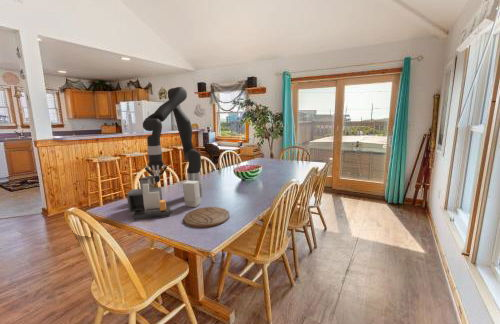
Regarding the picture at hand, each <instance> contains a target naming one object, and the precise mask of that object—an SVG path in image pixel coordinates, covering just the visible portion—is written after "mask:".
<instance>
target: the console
mask: <svg viewBox="0 0 500 324" xmlns="http://www.w3.org/2000/svg"><path fill="white" fill-rule="evenodd" d="M170 215H171V206H166V210H163V211H160V208H152V209H143V210H136V212H135V213H134V215H132V216H133V221H141V220H149V219H151V220H152V219H160V218H169V217H170Z"/></svg>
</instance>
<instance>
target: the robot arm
mask: <svg viewBox="0 0 500 324" xmlns="http://www.w3.org/2000/svg"><path fill="white" fill-rule="evenodd" d="M187 94H188V92H187V90H186V89H185V88H184V87H182V86H177V87H171V88H169V89H168V91H167V99H168V100H167V101H166V102H164V103H163V104H161V105H160V106H158V108H157V109H156V110H155V111H154V112H153V113H151V114H150V115H148V116H147V117H146V118H145V119H144V120H143V122H142V128H143V130H145V131H147V132H152V133H151V135H150V134H149V135H148V136H147V137H146V141H147V142H146V143H147V157H148V158H147V160H148V164H147V166H145V167H144V170H145V171H146V172H147V173H148V174H149V176H154V178H155V182H156V183H160V181H161V176H163V174H164V173H165V171H167V169H168V166H167V165H166V164H165V163H164V162H163V152H162V145H161V136H162V131H163V130H162V129H163V122H164V121H165V120H166V119H167V118H168V116H169V115H170V114H171V113H173V116H174V119H175V123H176V128H177V131H178V134H179V137H180V142H181V145H182V152H183V157H184V160H185V161H186V162H188V167H187V169H186V173H187V175H186V176H187V181H198V182H199V191H200V197H202V196H203V192H202V191H203V190H202V178H201V177H202V176H201V168H202V157H201V153H200V151H198V150H196V149H195V148H194V145H193V128H192V123H191V120H190V118H189V117H188V116H187V114H185V112H184V111H183V110H182V108H181V104H182V103H183V102H184V101H186V99H187V97H188V95H187ZM161 169H162V170H161Z"/></svg>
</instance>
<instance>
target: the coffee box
mask: <svg viewBox="0 0 500 324" xmlns="http://www.w3.org/2000/svg"><path fill="white" fill-rule="evenodd" d="M143 184H148V185H149V188H156V187H157V182H155V178H154V176H151V175H146V176H143V177H141V178H139V187H140V188H139V189H143V186H142V185H143Z"/></svg>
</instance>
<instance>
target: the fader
mask: <svg viewBox="0 0 500 324" xmlns="http://www.w3.org/2000/svg"><path fill="white" fill-rule="evenodd" d="M159 205H160V211H163V210H166V207H167V199H162V200H160V202H159Z"/></svg>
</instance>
